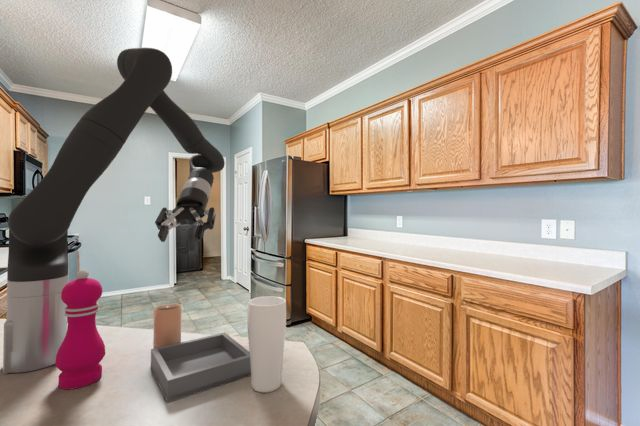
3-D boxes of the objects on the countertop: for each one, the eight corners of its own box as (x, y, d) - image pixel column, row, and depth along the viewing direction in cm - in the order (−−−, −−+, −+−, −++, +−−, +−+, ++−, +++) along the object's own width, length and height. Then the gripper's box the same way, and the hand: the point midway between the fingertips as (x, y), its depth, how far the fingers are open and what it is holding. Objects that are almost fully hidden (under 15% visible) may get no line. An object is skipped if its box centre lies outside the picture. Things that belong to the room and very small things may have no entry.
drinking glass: (278, 399, 51) (279, 307, 51) (240, 394, 52) (240, 304, 53) (290, 378, 58) (291, 296, 58) (256, 374, 59) (256, 294, 59)
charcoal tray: (167, 402, 50) (167, 380, 50) (150, 366, 62) (151, 349, 62) (253, 374, 59) (254, 355, 59) (224, 347, 71) (225, 332, 71)
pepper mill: (64, 374, 59) (66, 267, 59) (109, 367, 61) (111, 266, 62) (46, 394, 52) (49, 274, 52) (98, 386, 55) (100, 272, 55)
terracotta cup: (155, 360, 64) (156, 311, 64) (151, 351, 69) (151, 305, 69) (183, 354, 68) (184, 307, 68) (177, 345, 72) (178, 302, 72)
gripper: (165, 186, 86) (144, 229, 74) (217, 186, 87) (205, 229, 75) (173, 206, 91) (154, 249, 80) (222, 205, 92) (211, 248, 81)
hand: (179, 239), depth 78 cm, fingers open, 8 cm apart
